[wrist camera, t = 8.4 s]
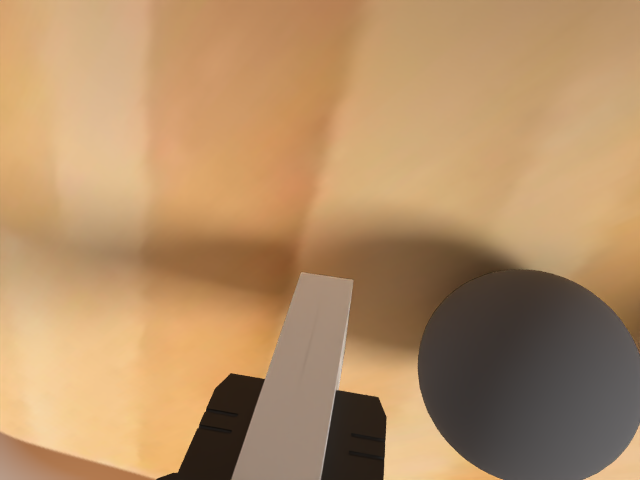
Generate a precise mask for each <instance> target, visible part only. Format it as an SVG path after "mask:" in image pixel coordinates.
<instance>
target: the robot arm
mask: <svg viewBox="0 0 640 480" xmlns="http://www.w3.org/2000/svg"><path fill="white" fill-rule="evenodd" d="M353 281H354V280H352V279H345V278H338V277H332V276H325V275H318V274H311V273H304V272H301V274H300V277H299V280H298V283H297V286H296V289H295V292H294V295H293V298H292V301H291V304H290V307H289V310H288V312H287V315H286V318H285V321H284V324H283V327H282V330H281V333H280V336H279V339H278V342H277V345H276V348H275V351H274V354H273V357H272V360H271V363H270V366H269V369H268V372H267V375H266V378H265V379H261V378H255V377H250V376H244V375H238V374H232V373H231V374H230V375H229V376H228V377H227V378H226V379H225V380H224V381H223V382H222V383H220V384H219V385H218V386H217V387H216V388H215V390H214V392H213V395H212V397H211V399H210V401H209V404H208V406H207V408H206V412H205V413H204V415H203V417H202V419H201V422H200V424H199V428H197V431H196V433H195V435H194V437H193V440H192V442H191V444H190V446H189V449H188V451H187V453H186V455H185V458H184V460H183V462H182V464H181V467H180V469H179V471H178V473H172V474H169V475H166V476H163V477H160V478H158V479H156V480H383V477H384V457H385V437H386V415H385V412H384V410H383V407H382V405H381V402H380V400H379V397H374V396H368V395H362V394H356V393H351V392H345V391H339V383H340V377H341V371H342V365H343V359H344V353H345V345H346V337H347V329H348V321H349V313H350V305H351V297H352V289H353Z"/></svg>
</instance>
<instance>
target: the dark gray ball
mask: <svg viewBox="0 0 640 480" xmlns="http://www.w3.org/2000/svg"><path fill="white" fill-rule="evenodd" d="M418 376H419V385H420V390H421V393H422V397H423V400H424V403H425V406H426V408H427V411H428V413H429V415H430V417H431V418H432V420H433V422H434V424H435V426H436V427H437V429H438V430H439V432H440V433H441V435H442V436H443V437H444V438H445V440H446V441H447V442H448V443H449V444H450V445H451V446H452V447H453V448H454V449H455V450H456V451H457V452H458V453H459V454H460V455H461V456H462V457H464V458H465V459H466V460H467V461H469V462H470V463H472V464H473V465H475V466H476V467H478V468H479V469H481V470H483V471H485V472H487V473H489V474H491V475H493V476H495V477H497V478H500V479H503V480H583V479H586V478H588V477H590V476H592V475H594V474H596V473H599V472H600V471H601V470H603V469H604V468H606V467H607V466H608V465H610V464H611V463H612V462H614V461H615V460H616V459H617V458H618V457H619V456H620V455H621V454H622V452H623V451H624V450H625V449H626V447H627V446H628V445H629V443H630V442H631V440H632V438H633V437H634V435H635V433H636V431H637V429H638V426H639V424H640V355H639V352H638V349H637V347H636V344H635V342H634V340H633V338H632V336H631V335H630V333H629V332H628V330H627V328H626V327H625V325H624V324H623V322H622V321H621V319H620V318H619V317H618V316H617V315H616V314H615V312H614V311H613V310H612V309H611V308H610V307H609V306H607V305H606V304H605V303H604V302H603V301H602V300H601V299H600V298H598V297H597V296H596V295H594V294H593V293H592V292H590V291H589V290H587V289H586V288H584V287H582V286H580V285H579V284H577V283H575V282H573V281H570V280H568V279H566V278H563V277H560V276H557V275H554V274H551V273H546V272H542V271H535V270H505V271H497V272H493V273H489V274H486V275H483V276H481V277H478V278H475V279H473V280H471V281H469V282H467V283H465V284H464V285H462V286H460V287H459V288H458V289H456V290H455V291H454V292H452V293H451V294H450V295H449V296H447V298H446V299H445V300H444V301H443V302H442V303H441V304H440V305H439V307H438V308H437V309H436V310H435V312H434V313H433V315H432V317H431V318H430V320H429V322H428V324H427V326H426V328H425V331H424V333H423V336H422V340H421V343H420V348H419V355H418Z"/></svg>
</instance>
